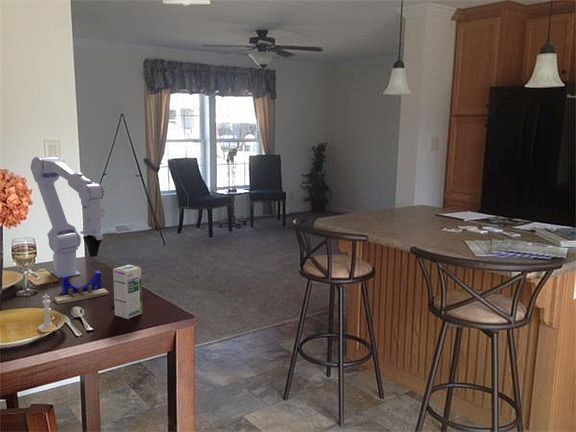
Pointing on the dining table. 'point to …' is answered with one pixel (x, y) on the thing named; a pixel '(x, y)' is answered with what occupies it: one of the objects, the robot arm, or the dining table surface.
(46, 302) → the chess piece
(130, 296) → the syrup box
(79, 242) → the robot arm
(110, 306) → the dining table surface
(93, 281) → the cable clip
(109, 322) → the dining table surface
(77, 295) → the coat hook rack
